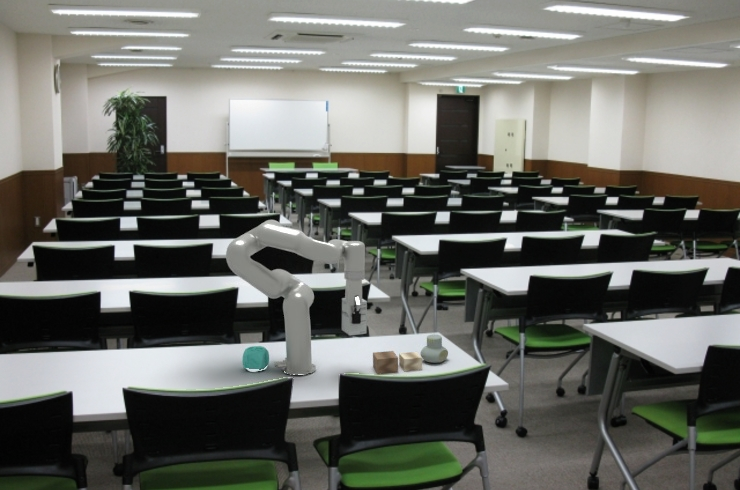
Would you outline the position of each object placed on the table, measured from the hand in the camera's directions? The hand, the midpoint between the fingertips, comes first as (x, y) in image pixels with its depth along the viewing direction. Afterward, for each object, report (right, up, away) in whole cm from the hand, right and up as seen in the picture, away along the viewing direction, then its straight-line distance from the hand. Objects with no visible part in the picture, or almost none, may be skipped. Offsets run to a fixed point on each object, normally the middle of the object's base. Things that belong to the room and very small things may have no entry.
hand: (354, 320), depth 272 cm
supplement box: (0, -5, +1) cm, 5 cm away
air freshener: (+31, -18, +15) cm, 39 cm away
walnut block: (+12, -20, +6) cm, 24 cm away
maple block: (+22, -19, +8) cm, 30 cm away
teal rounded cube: (-38, -20, +9) cm, 44 cm away
